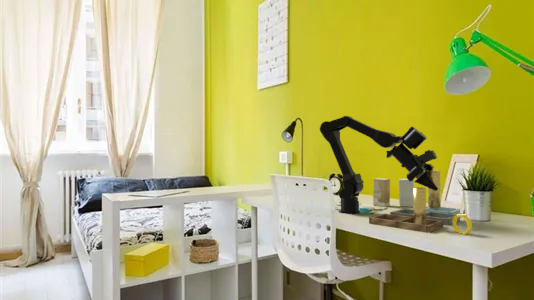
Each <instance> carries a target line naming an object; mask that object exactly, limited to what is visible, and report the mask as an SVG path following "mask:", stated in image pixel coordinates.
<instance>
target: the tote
mask: <svg viewBox="0 0 534 300" xmlns="http://www.w3.org/2000/svg"><path fill="white" fill-rule="evenodd" d="M460 209H461V208H457V209H456V207H446V206H441V208H429V207H426V211H430V212H439V213H448V214H456V215H457V214H460Z"/></svg>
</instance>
